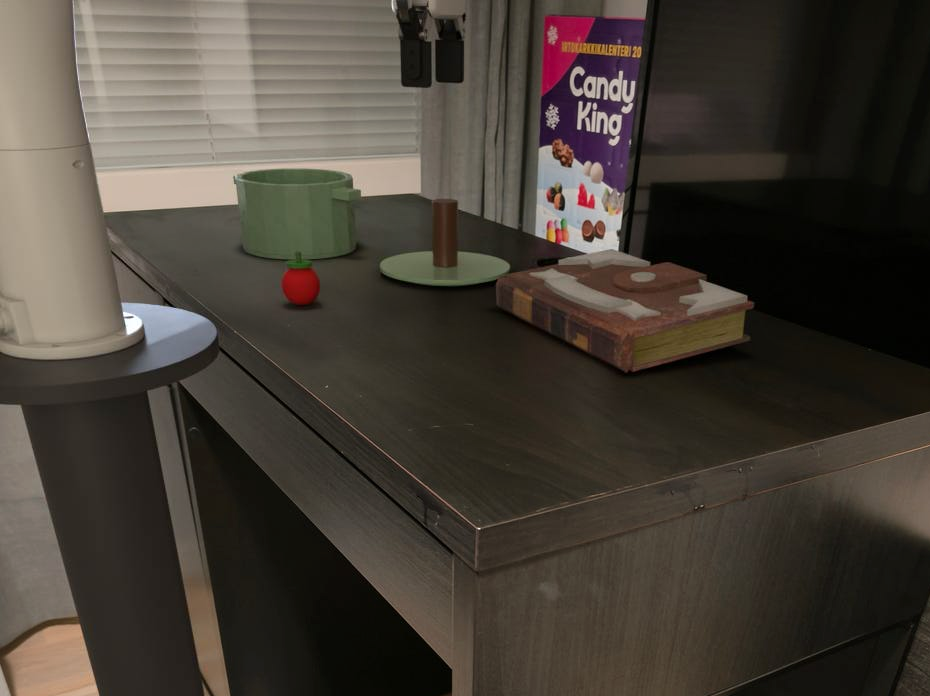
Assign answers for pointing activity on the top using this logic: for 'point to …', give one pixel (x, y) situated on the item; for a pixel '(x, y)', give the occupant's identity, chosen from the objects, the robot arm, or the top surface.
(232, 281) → the top surface
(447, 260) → the lid
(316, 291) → the tomato
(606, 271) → the book
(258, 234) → the pot
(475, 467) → the top surface
